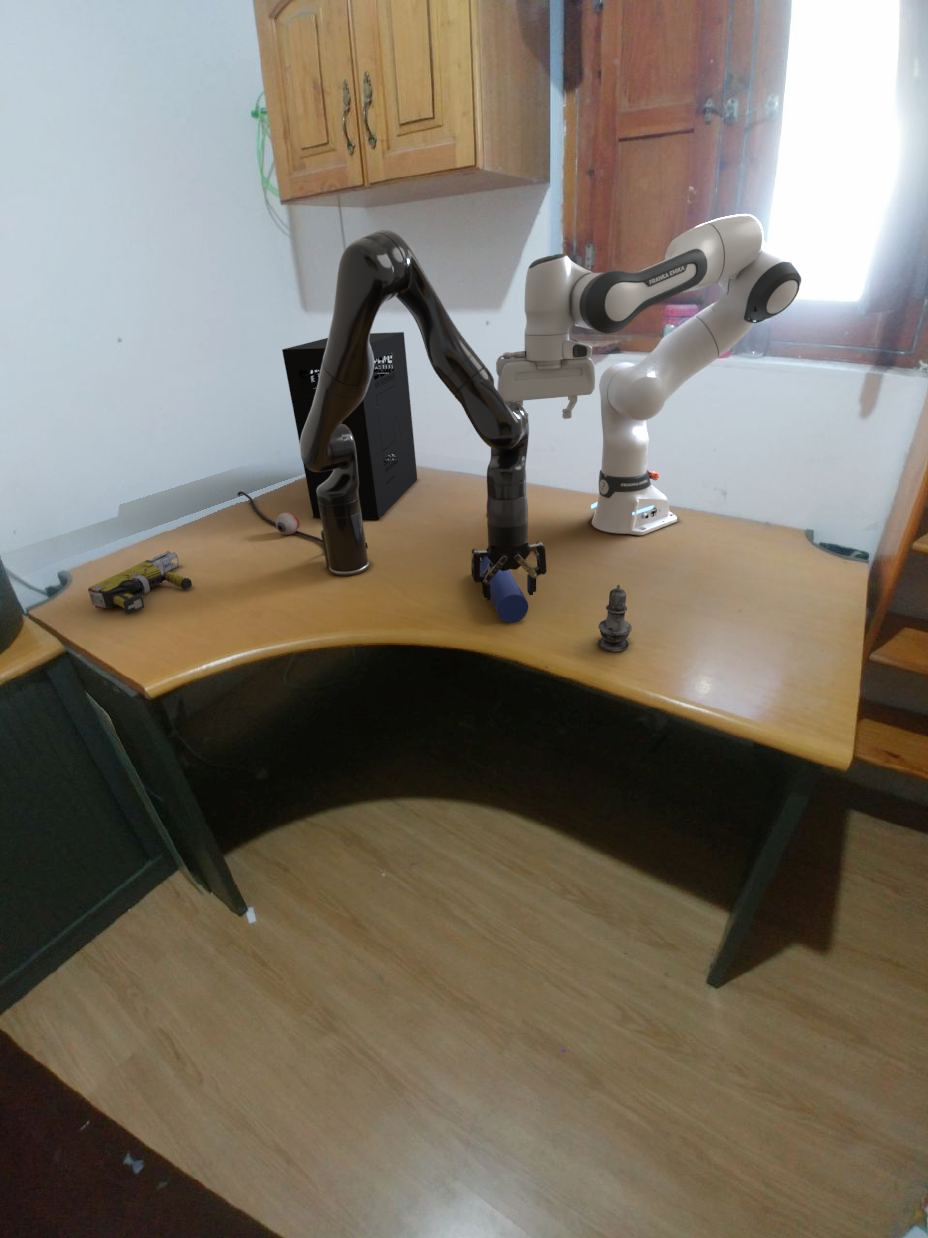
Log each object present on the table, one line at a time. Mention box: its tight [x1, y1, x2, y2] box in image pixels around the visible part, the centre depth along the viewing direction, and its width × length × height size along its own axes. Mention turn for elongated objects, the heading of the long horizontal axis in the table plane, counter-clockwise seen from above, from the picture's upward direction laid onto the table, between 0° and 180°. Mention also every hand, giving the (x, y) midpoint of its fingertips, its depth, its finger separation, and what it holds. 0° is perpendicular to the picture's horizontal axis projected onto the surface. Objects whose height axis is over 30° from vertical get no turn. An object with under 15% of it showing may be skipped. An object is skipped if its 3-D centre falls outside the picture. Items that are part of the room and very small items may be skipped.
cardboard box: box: [281, 331, 418, 521], centre depth 178 cm, size 38×20×45 cm, turn 167°
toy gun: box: [87, 550, 193, 615], centre depth 138 cm, size 5×24×15 cm
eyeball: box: [275, 511, 300, 536], centre depth 163 cm, size 6×6×6 cm
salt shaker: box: [597, 584, 633, 653], centre depth 106 cm, size 6×6×12 cm
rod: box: [480, 548, 530, 623], centre depth 126 cm, size 23×6×6 cm, turn 10°
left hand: (509, 596), depth 118 cm, fingers open, 8 cm apart
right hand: (545, 420), depth 128 cm, fingers open, 8 cm apart
